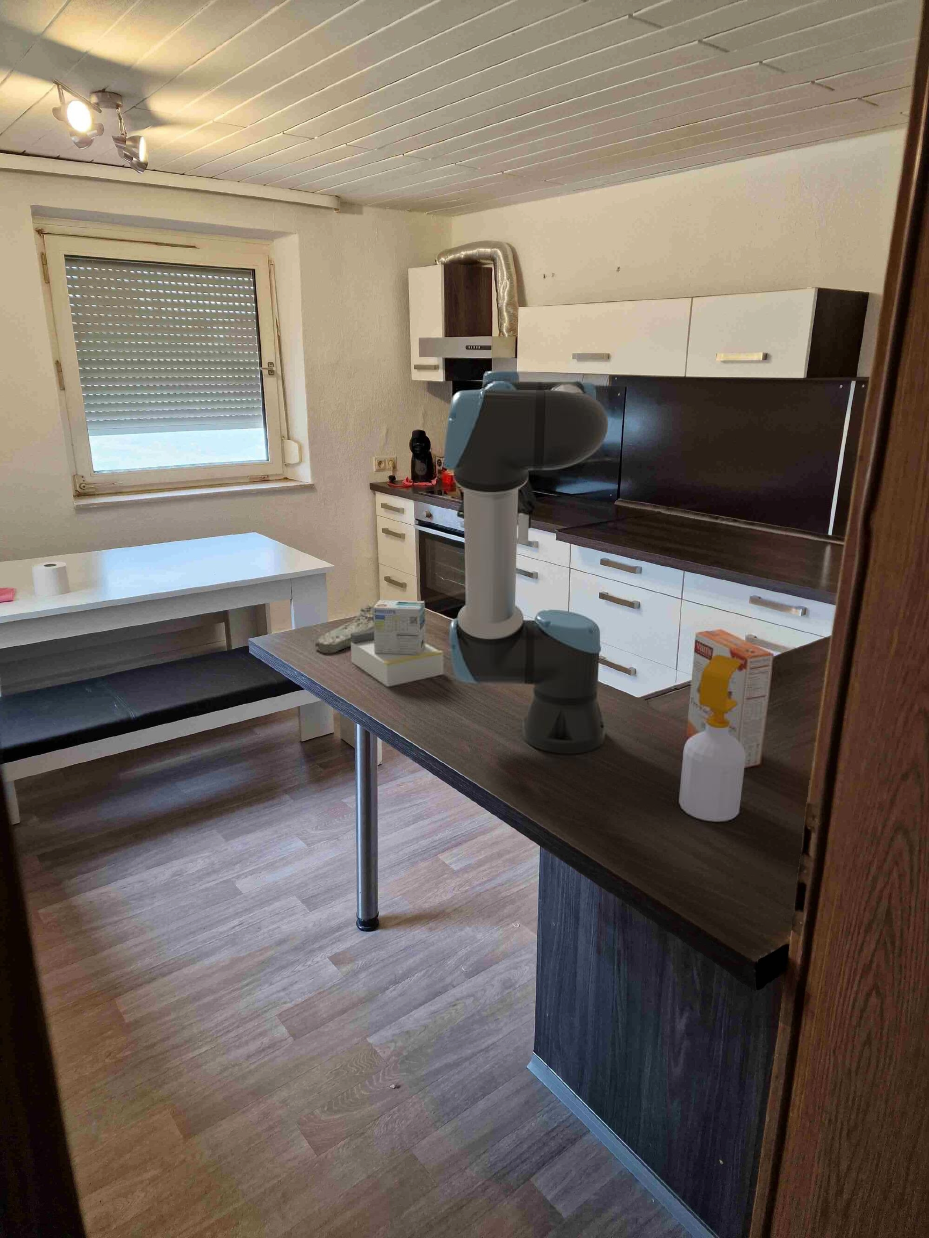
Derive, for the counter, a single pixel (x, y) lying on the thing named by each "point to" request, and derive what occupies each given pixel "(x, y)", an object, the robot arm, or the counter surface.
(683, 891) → the counter surface
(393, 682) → the platform
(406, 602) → the light bulb box
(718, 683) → the soap bottle
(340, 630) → the elongated rock
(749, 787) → the counter surface
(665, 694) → the counter surface
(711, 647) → the cracker box
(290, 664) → the counter surface
